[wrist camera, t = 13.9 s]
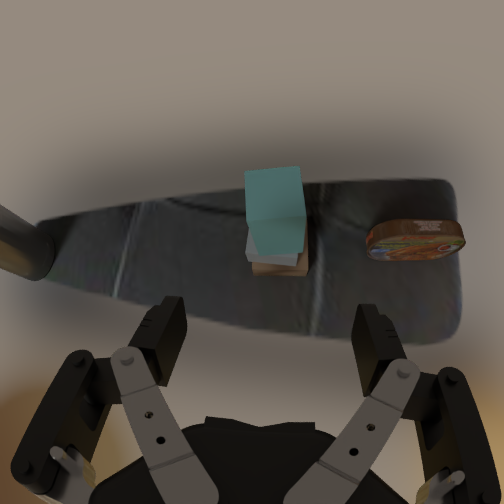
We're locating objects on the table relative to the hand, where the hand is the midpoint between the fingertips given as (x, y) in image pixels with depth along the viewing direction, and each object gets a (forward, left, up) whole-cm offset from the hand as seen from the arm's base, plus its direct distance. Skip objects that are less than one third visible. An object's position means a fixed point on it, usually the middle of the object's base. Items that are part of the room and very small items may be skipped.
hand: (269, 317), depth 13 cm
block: (0, +12, -19) cm, 23 cm away
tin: (+19, +12, -26) cm, 35 cm away
